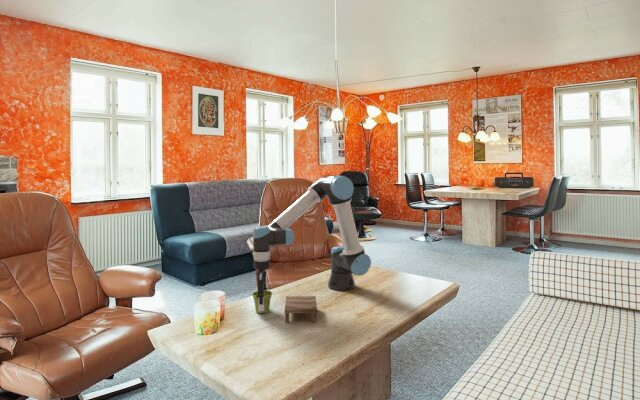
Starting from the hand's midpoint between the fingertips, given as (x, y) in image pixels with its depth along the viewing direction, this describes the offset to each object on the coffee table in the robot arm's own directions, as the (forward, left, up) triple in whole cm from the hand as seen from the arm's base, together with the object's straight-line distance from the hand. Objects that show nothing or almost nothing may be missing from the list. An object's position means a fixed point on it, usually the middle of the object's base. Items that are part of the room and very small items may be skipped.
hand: (262, 307), depth 188 cm
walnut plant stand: (+6, +18, -2) cm, 19 cm away
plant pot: (0, 0, -2) cm, 2 cm away
